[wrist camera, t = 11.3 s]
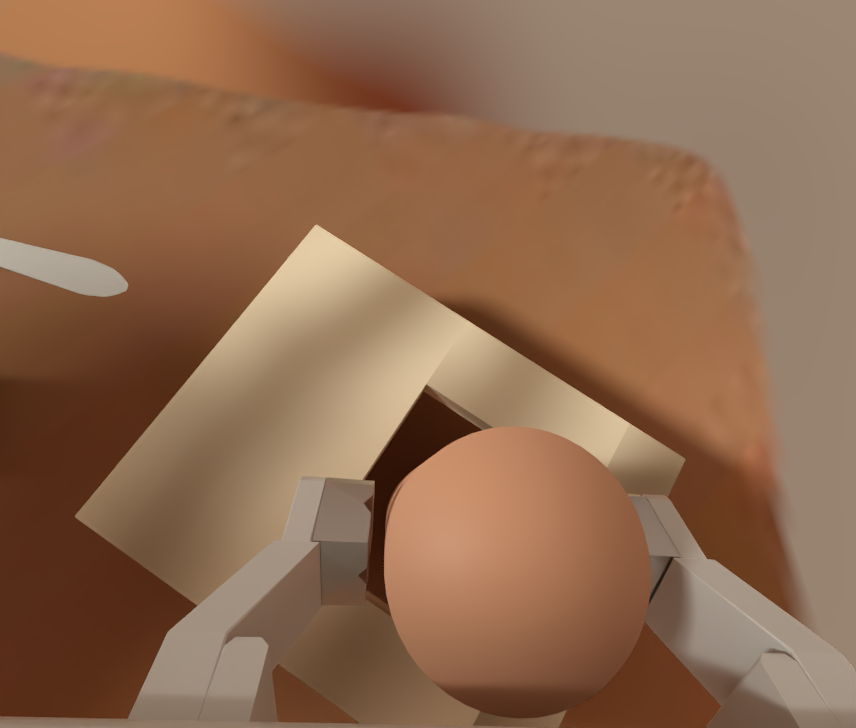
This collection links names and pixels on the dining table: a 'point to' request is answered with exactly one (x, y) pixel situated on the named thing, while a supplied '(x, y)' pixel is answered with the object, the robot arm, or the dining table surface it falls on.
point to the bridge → (334, 453)
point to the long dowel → (516, 571)
